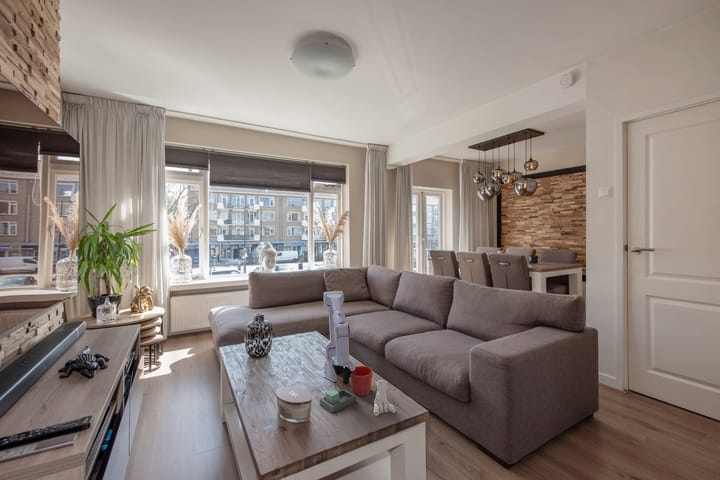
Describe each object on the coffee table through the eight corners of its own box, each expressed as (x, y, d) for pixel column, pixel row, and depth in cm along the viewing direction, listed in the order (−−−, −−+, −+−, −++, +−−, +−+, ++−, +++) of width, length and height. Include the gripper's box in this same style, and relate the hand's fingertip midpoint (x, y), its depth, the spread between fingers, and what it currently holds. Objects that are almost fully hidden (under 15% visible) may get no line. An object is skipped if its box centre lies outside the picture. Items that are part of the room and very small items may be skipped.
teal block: (333, 401, 137) (333, 389, 136) (339, 404, 134) (339, 392, 134) (326, 404, 134) (325, 392, 134) (331, 408, 131) (331, 396, 131)
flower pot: (353, 399, 139) (352, 377, 139) (347, 387, 149) (347, 367, 149) (376, 395, 142) (375, 373, 141) (368, 384, 152) (368, 364, 152)
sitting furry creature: (374, 417, 125) (373, 387, 124) (367, 406, 133) (367, 378, 133) (396, 413, 127) (395, 383, 127) (388, 402, 135) (388, 374, 135)
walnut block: (344, 383, 140) (343, 372, 140) (349, 386, 137) (349, 374, 137) (336, 386, 138) (336, 375, 138) (342, 389, 135) (342, 377, 135)
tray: (319, 404, 135) (319, 398, 135) (343, 394, 143) (343, 388, 143) (332, 413, 128) (332, 407, 128) (356, 401, 137) (356, 395, 137)
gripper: (325, 349, 140) (326, 379, 140) (345, 358, 129) (346, 390, 129) (337, 345, 145) (338, 374, 145) (358, 353, 134) (359, 385, 134)
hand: (343, 381), depth 138 cm, fingers closed on walnut block, 4 cm apart
